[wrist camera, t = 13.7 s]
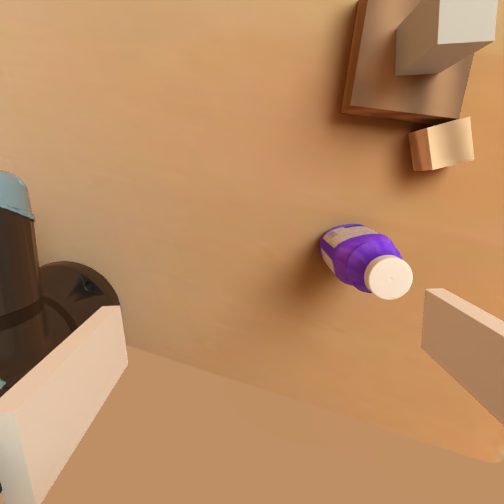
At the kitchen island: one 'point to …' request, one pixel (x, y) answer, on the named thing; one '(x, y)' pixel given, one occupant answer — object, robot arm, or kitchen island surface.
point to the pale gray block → (443, 34)
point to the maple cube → (441, 145)
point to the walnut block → (383, 72)
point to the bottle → (366, 261)
